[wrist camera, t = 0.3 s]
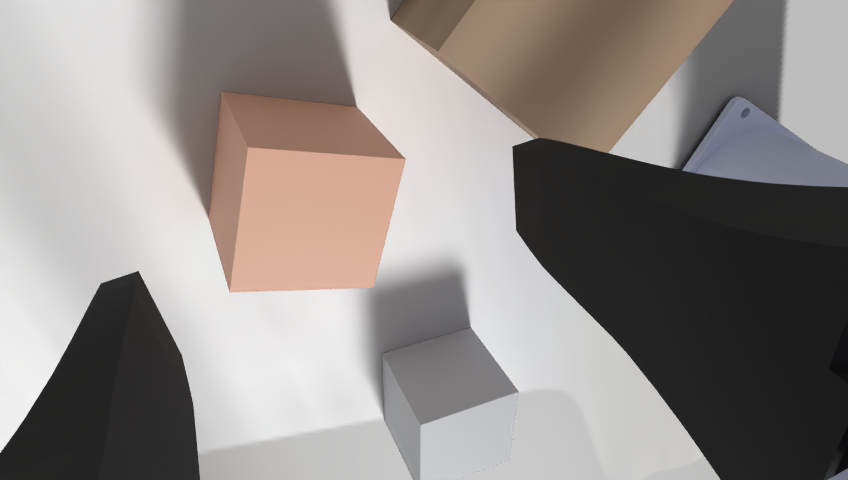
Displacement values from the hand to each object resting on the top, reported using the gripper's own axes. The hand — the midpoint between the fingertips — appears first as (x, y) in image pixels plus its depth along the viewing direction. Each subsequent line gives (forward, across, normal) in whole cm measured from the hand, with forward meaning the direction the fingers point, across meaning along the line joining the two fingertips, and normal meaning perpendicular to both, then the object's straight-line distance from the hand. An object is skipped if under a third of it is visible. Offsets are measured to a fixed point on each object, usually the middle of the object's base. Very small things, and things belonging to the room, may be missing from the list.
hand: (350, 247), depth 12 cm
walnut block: (+11, -10, 0) cm, 15 cm away
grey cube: (+10, -4, +16) cm, 20 cm away
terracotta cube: (+10, 0, +3) cm, 11 cm away
